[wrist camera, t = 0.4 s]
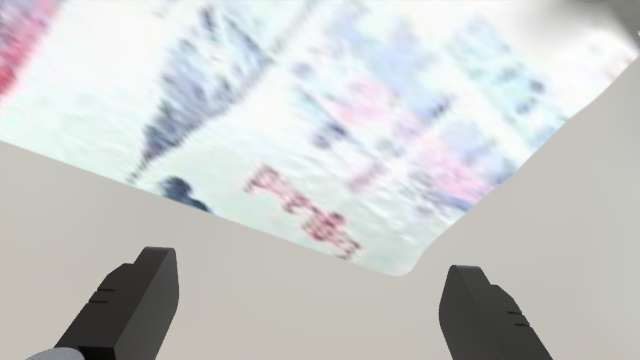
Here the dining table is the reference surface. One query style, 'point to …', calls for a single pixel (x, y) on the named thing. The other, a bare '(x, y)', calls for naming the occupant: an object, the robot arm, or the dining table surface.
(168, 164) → the dining table surface
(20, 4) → the dining table surface
